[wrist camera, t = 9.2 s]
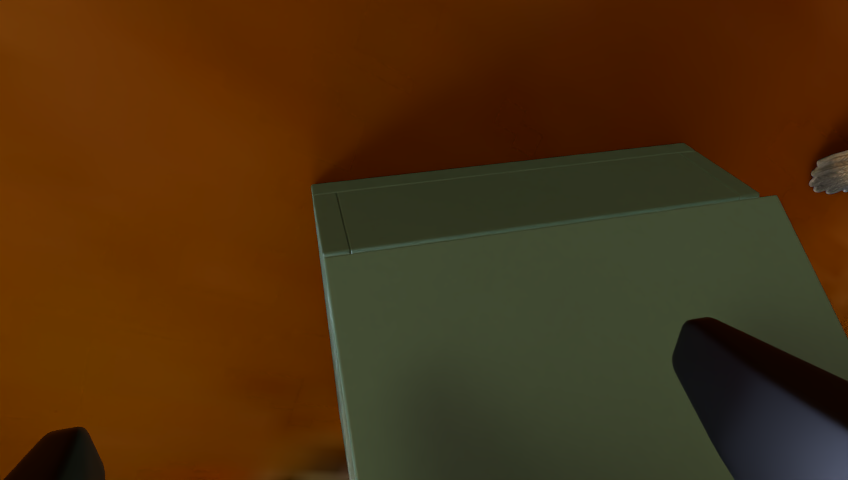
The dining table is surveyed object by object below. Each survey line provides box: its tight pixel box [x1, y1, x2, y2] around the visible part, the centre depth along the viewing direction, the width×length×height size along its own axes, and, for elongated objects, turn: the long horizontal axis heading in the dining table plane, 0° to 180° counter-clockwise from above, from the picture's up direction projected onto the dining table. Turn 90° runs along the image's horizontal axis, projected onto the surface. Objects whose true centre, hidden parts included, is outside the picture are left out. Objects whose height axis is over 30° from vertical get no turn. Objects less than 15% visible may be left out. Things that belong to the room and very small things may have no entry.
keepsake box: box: [311, 143, 759, 480], centre depth 23 cm, size 12×15×4 cm
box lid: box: [324, 195, 848, 480], centre depth 13 cm, size 12×15×5 cm
